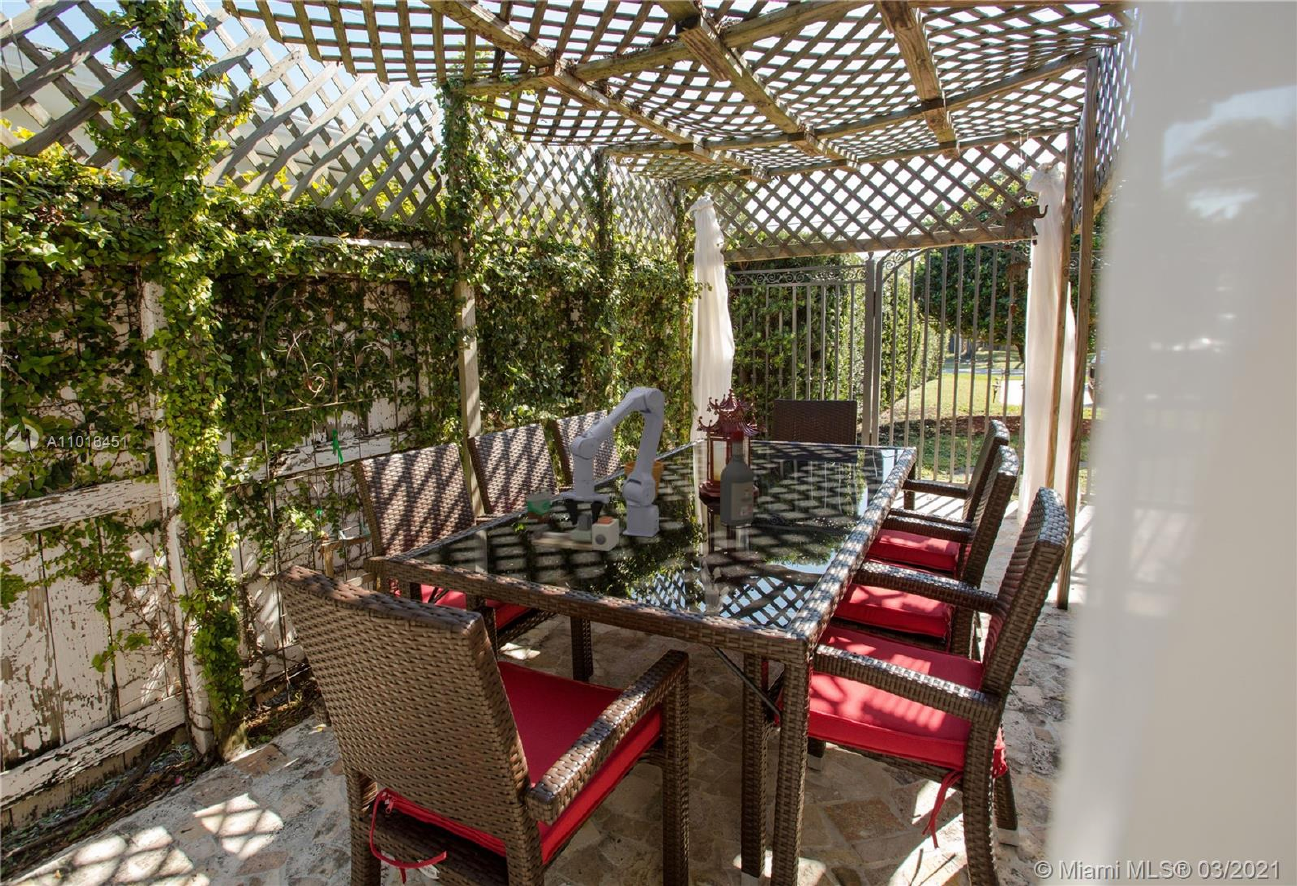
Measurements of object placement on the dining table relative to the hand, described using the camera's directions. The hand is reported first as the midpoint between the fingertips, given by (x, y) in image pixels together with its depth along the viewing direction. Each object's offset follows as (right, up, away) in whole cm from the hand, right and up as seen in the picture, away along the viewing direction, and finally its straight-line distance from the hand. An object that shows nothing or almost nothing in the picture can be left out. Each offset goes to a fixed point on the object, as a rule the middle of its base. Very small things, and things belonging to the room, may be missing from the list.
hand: (584, 525), depth 191 cm
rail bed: (-5, -5, +2) cm, 8 cm away
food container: (-16, -2, +25) cm, 30 cm away
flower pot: (+17, +3, +54) cm, 56 cm away
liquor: (+46, -2, +20) cm, 50 cm away
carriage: (0, -4, +1) cm, 4 cm away
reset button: (+6, 0, -2) cm, 6 cm away
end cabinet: (+6, -6, -1) cm, 8 cm away
